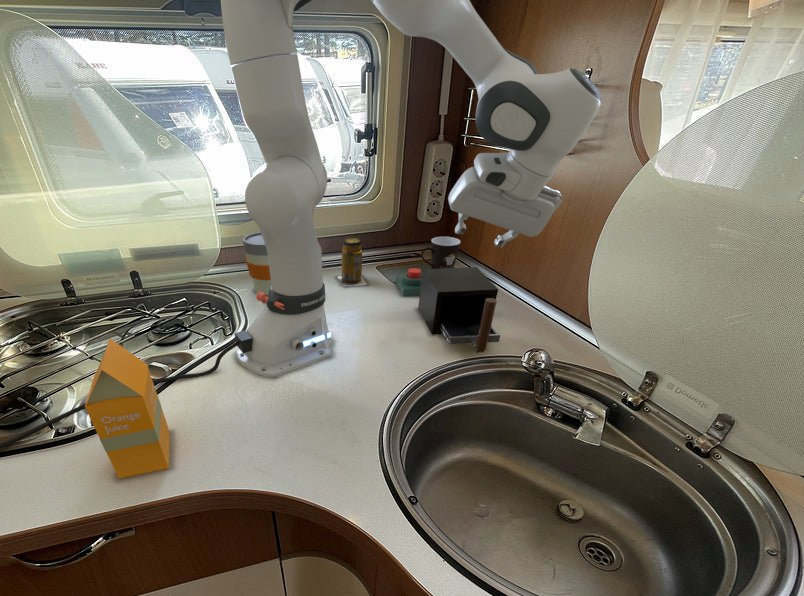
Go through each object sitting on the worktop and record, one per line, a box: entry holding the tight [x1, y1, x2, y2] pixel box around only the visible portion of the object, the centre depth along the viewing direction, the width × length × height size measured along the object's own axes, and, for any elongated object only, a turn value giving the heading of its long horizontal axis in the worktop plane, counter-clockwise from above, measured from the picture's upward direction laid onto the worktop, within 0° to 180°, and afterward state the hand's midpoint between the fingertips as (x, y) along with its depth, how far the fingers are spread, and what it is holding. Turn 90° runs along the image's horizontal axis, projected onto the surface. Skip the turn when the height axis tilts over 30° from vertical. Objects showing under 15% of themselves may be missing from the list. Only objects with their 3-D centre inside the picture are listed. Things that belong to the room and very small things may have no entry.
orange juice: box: [85, 337, 171, 480], centre depth 64 cm, size 8×9×20 cm
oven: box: [417, 266, 499, 336], centre depth 104 cm, size 14×14×11 cm
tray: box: [438, 298, 501, 354], centre depth 93 cm, size 16×11×12 cm
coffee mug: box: [420, 236, 461, 269], centre depth 130 cm, size 12×9×10 cm
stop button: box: [407, 267, 422, 279], centre depth 120 cm, size 4×4×2 cm
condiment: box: [336, 237, 368, 288], centre depth 125 cm, size 7×8×12 cm
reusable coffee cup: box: [242, 231, 271, 295], centre depth 120 cm, size 13×13×15 cm
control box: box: [395, 271, 422, 297], centre depth 122 cm, size 10×8×4 cm
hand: (478, 238), depth 88 cm, fingers open, 8 cm apart
